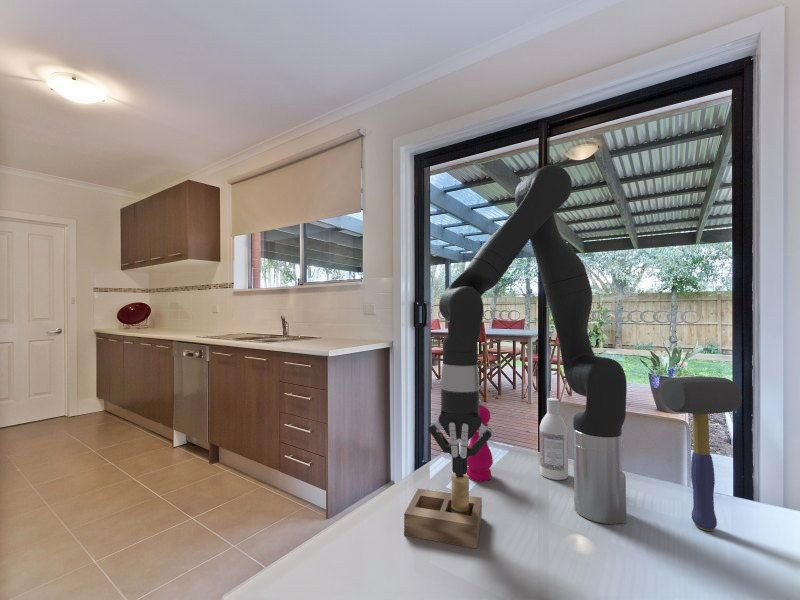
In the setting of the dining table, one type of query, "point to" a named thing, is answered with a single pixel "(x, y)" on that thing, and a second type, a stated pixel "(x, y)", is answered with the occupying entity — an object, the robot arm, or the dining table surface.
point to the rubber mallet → (701, 432)
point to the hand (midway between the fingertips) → (459, 475)
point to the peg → (460, 494)
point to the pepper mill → (480, 452)
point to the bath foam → (553, 443)
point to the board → (442, 519)
